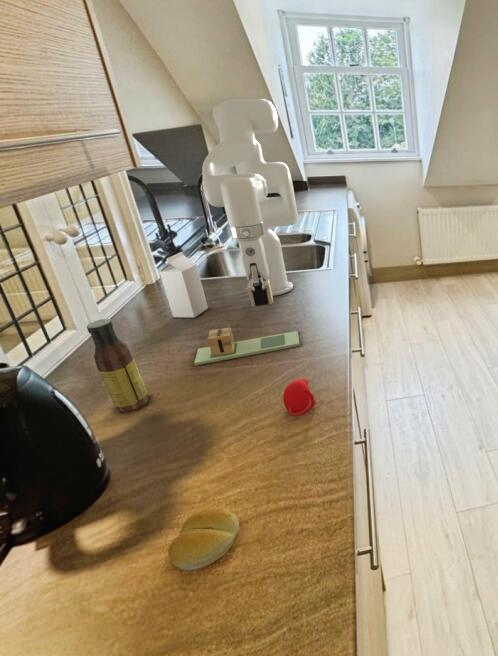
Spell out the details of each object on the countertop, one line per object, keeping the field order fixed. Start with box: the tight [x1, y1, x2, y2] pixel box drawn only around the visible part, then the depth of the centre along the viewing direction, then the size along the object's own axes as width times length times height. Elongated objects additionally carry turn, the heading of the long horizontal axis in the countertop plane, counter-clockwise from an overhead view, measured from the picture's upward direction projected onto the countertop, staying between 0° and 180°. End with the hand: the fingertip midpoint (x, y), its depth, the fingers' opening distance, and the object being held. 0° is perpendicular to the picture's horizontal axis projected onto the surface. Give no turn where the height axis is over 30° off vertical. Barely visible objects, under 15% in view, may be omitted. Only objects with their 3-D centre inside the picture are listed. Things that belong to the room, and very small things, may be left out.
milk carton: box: [159, 251, 209, 318], centre depth 138 cm, size 7×7×19 cm
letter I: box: [207, 326, 236, 357], centre depth 116 cm, size 5×5×5 cm
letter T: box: [247, 279, 274, 308], centre depth 115 cm, size 5×5×5 cm
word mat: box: [193, 330, 300, 366], centre depth 119 cm, size 8×25×1 cm, turn 110°
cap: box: [282, 378, 317, 417], centre depth 93 cm, size 8×6×6 cm
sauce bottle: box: [86, 318, 150, 412], centre depth 93 cm, size 7×6×20 cm
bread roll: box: [167, 506, 240, 571], centre depth 64 cm, size 8×9×4 cm
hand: (262, 300), depth 116 cm, fingers closed on letter T, 5 cm apart
